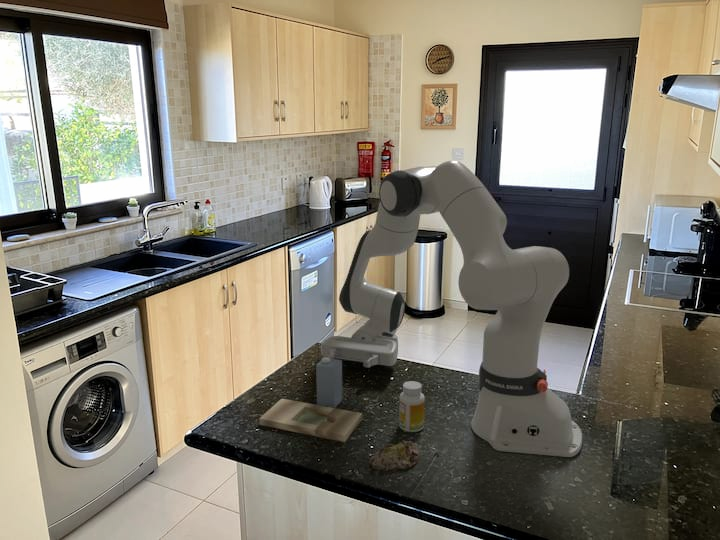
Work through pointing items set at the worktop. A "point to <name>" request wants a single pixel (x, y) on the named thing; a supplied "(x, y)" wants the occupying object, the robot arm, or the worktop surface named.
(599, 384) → the worktop surface
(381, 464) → the mineral rock
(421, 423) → the supplement bottle
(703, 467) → the worktop surface
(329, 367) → the block
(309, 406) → the board
